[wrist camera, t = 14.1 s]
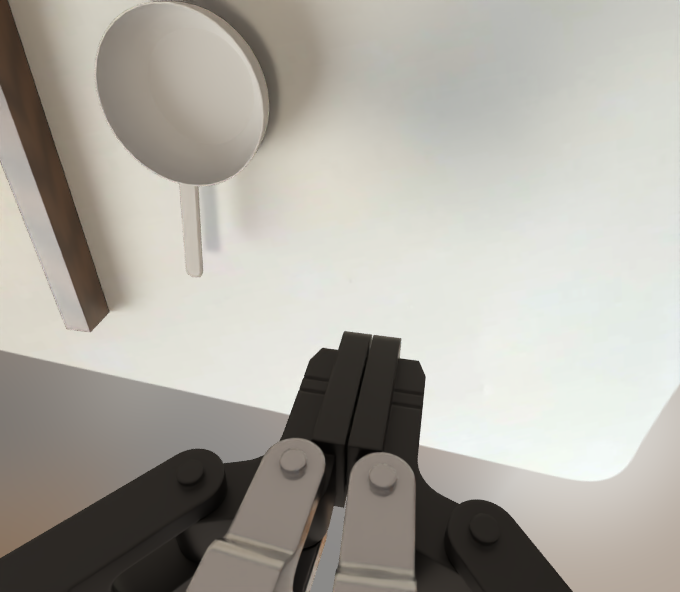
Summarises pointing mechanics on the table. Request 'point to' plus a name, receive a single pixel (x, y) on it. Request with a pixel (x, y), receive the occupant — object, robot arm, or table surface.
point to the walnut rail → (44, 188)
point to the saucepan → (182, 100)
